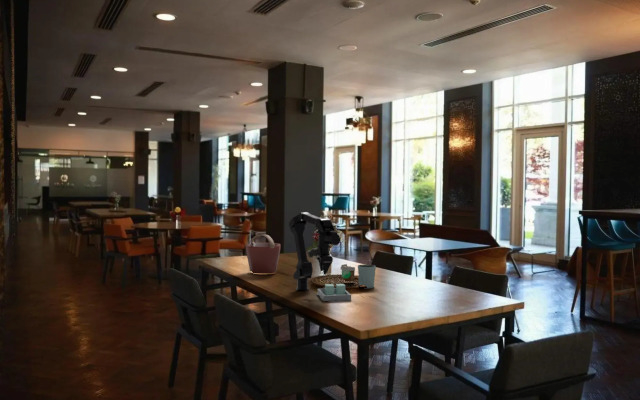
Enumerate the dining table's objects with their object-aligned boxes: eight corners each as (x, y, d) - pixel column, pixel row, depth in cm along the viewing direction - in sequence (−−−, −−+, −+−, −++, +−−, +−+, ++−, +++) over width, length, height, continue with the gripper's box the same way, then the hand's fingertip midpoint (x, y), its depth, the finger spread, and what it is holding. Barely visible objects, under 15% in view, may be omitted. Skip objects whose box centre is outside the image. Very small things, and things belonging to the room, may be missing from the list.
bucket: (242, 271, 339) (242, 233, 338) (274, 268, 348) (274, 232, 347) (252, 277, 316) (252, 237, 315) (286, 274, 325) (286, 235, 324)
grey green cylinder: (354, 287, 286) (354, 266, 286) (361, 284, 295) (362, 263, 295) (371, 289, 282) (371, 267, 281) (378, 286, 291) (378, 265, 290)
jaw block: (324, 296, 262) (324, 284, 262) (332, 295, 263) (332, 284, 262) (326, 297, 258) (326, 285, 258) (334, 297, 259) (334, 285, 258)
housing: (317, 294, 268) (317, 282, 267) (343, 293, 270) (343, 281, 270) (323, 302, 251) (323, 288, 251) (351, 300, 253) (351, 287, 253)
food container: (337, 281, 304) (337, 264, 304) (346, 280, 306) (346, 264, 306) (345, 285, 293) (345, 267, 292) (355, 284, 295) (355, 267, 295)
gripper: (305, 240, 271) (305, 269, 272) (311, 245, 253) (310, 276, 254) (326, 240, 273) (325, 269, 274) (333, 245, 255) (332, 276, 256)
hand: (323, 272), depth 264 cm, fingers open, 9 cm apart
